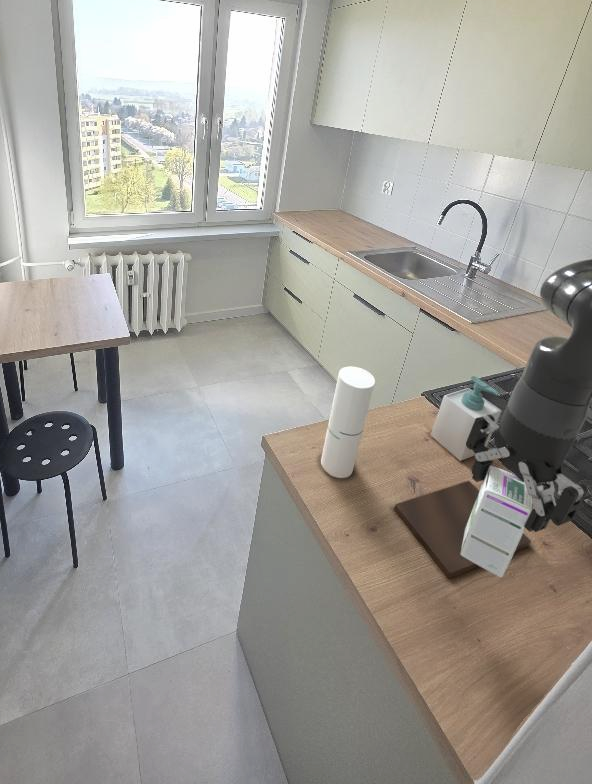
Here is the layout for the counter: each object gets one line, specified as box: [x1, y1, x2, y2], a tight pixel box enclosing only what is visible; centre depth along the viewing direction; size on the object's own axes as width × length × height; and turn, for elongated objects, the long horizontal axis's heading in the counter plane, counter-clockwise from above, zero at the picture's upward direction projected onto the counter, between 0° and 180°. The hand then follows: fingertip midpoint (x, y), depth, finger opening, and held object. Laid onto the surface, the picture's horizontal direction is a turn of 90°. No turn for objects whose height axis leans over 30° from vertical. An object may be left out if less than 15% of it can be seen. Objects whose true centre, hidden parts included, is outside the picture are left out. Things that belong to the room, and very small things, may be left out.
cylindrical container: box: [320, 365, 376, 479], centre depth 91 cm, size 7×7×25 cm
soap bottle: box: [430, 375, 502, 462], centre depth 99 cm, size 9×9×19 cm
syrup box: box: [460, 464, 534, 578], centre depth 62 cm, size 6×6×14 cm
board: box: [393, 480, 532, 579], centre depth 83 cm, size 20×14×2 cm
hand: (503, 502), depth 60 cm, fingers closed on syrup box, 7 cm apart
